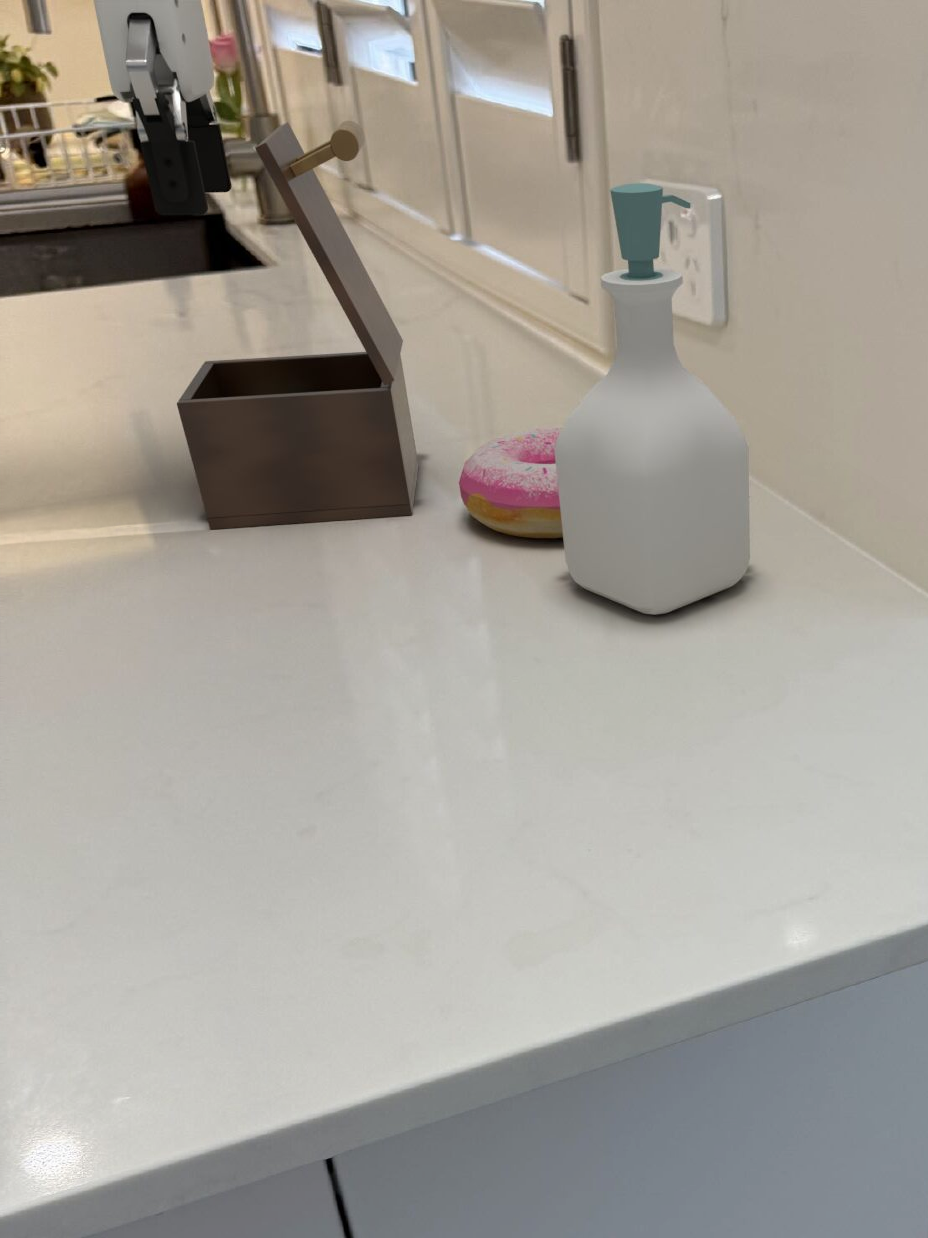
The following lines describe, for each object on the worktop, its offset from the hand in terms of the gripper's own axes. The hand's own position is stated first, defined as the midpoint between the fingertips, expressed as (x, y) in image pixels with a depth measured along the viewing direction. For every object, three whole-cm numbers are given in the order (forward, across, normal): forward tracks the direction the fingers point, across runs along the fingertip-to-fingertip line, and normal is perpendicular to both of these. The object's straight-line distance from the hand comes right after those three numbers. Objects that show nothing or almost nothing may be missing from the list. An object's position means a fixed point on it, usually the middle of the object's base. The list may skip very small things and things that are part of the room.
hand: (196, 202), depth 89 cm
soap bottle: (+20, +23, +28) cm, 41 cm away
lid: (+3, 0, +8) cm, 9 cm away
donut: (+20, +8, +22) cm, 31 cm away
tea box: (+20, 0, +4) cm, 20 cm away
